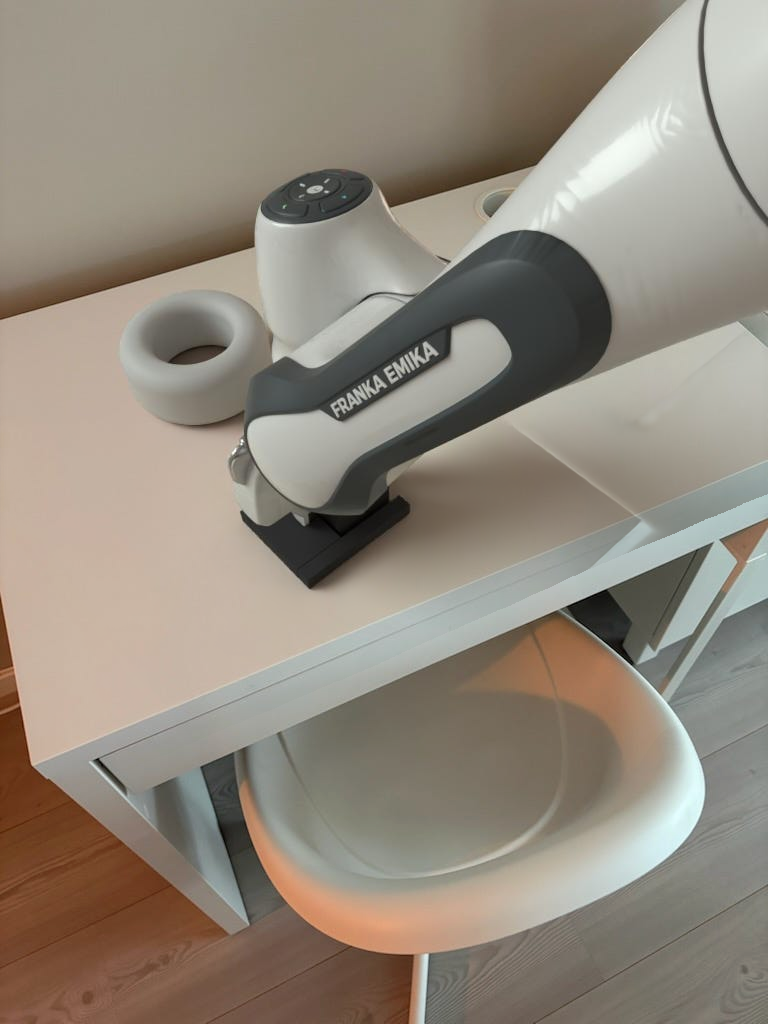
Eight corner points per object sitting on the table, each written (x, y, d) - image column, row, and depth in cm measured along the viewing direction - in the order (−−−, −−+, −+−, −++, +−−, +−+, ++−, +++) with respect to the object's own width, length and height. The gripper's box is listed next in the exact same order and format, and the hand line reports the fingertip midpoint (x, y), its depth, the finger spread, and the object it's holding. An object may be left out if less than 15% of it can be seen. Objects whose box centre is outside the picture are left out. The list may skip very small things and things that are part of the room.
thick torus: (109, 415, 78) (87, 368, 72) (170, 321, 86) (154, 273, 81) (244, 442, 75) (231, 395, 70) (293, 343, 83) (286, 294, 78)
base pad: (410, 513, 70) (410, 503, 68) (309, 589, 65) (307, 581, 64) (341, 452, 74) (339, 443, 73) (242, 520, 70) (239, 511, 68)
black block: (389, 504, 70) (389, 477, 67) (340, 540, 68) (337, 514, 65) (348, 467, 73) (345, 440, 70) (300, 501, 71) (295, 474, 67)
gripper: (249, 476, 52) (276, 577, 64) (456, 339, 60) (447, 451, 71) (199, 427, 55) (233, 531, 66) (402, 302, 63) (402, 415, 74)
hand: (345, 489), depth 69 cm, fingers open, 8 cm apart
